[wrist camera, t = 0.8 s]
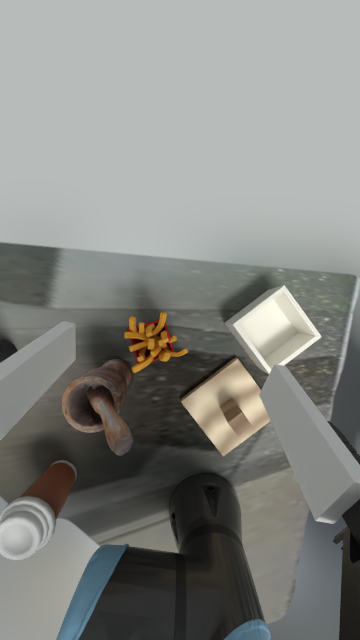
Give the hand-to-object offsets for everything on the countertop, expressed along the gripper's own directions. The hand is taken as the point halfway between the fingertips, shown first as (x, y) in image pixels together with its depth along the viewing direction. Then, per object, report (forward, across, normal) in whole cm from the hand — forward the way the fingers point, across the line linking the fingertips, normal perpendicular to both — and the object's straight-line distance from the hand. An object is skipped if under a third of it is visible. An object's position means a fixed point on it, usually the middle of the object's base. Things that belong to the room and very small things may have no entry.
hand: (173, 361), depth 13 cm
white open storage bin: (+28, -19, +7) cm, 34 cm away
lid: (+22, -15, +24) cm, 36 cm away
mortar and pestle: (+22, +8, +22) cm, 32 cm away
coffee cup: (+13, +17, +44) cm, 49 cm away
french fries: (+26, +2, +12) cm, 29 cm away
